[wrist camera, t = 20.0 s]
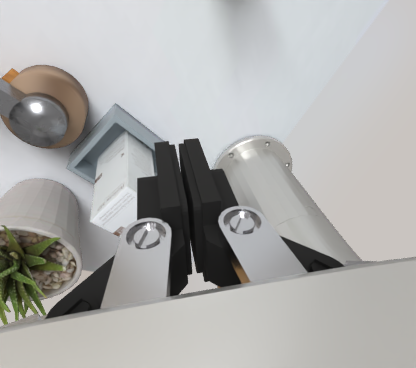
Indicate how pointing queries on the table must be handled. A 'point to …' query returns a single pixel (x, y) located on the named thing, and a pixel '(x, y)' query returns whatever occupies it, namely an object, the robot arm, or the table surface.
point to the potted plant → (37, 244)
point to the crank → (33, 115)
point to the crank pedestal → (57, 87)
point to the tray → (108, 141)
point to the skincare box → (119, 182)
